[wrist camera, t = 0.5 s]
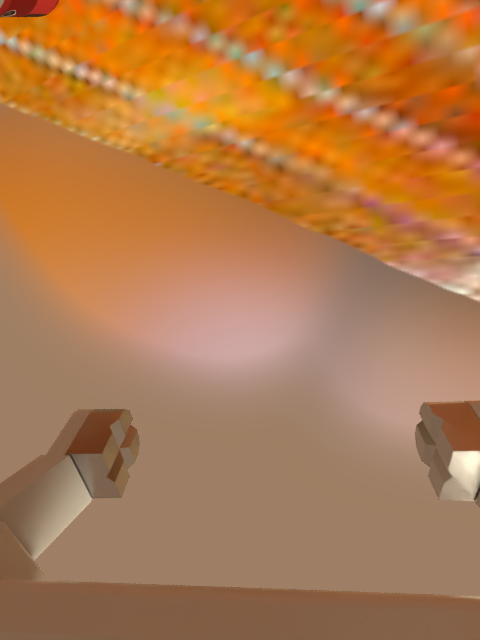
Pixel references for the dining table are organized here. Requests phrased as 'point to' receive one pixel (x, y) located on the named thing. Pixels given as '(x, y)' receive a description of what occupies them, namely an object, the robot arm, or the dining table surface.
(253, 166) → the dining table surface
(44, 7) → the canned food
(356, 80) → the dining table surface
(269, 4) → the dining table surface
